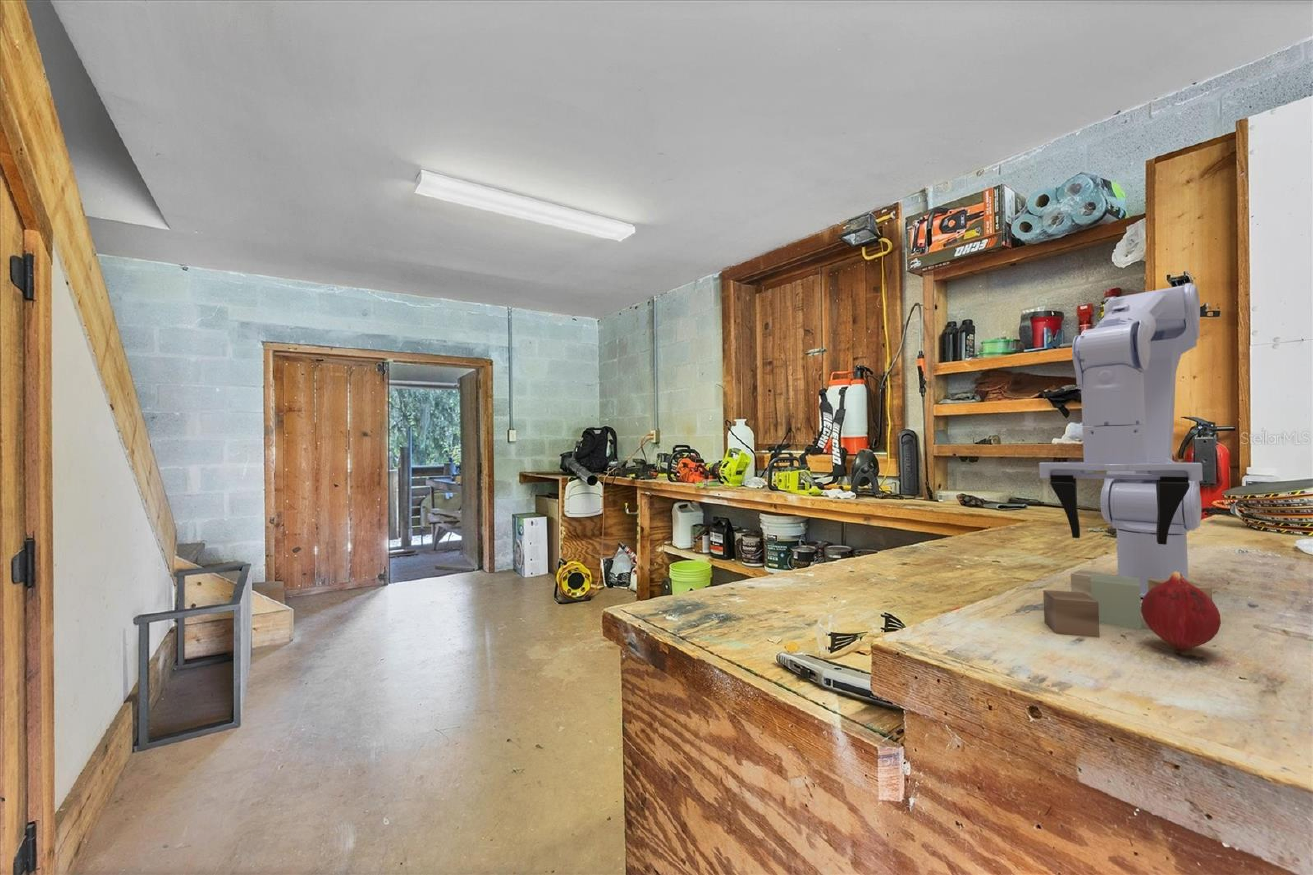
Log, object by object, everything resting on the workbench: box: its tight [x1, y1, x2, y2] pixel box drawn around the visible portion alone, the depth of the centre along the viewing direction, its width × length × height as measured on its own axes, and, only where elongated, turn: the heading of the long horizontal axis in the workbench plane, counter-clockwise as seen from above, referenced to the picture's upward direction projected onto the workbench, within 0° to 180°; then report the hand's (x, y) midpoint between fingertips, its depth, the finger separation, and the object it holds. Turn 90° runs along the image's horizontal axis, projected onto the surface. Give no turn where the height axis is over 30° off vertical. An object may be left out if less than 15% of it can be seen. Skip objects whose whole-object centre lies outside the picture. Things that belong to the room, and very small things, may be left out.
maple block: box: [1070, 568, 1119, 597], centre depth 71 cm, size 4×4×4 cm
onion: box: [1141, 571, 1222, 652], centre depth 55 cm, size 6×6×8 cm
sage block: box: [1091, 573, 1142, 630], centre depth 64 cm, size 4×4×5 cm
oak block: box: [1148, 579, 1213, 601], centre depth 65 cm, size 4×4×4 cm
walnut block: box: [1042, 589, 1101, 639], centre depth 61 cm, size 4×4×4 cm
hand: (1117, 539), depth 63 cm, fingers open, 7 cm apart
